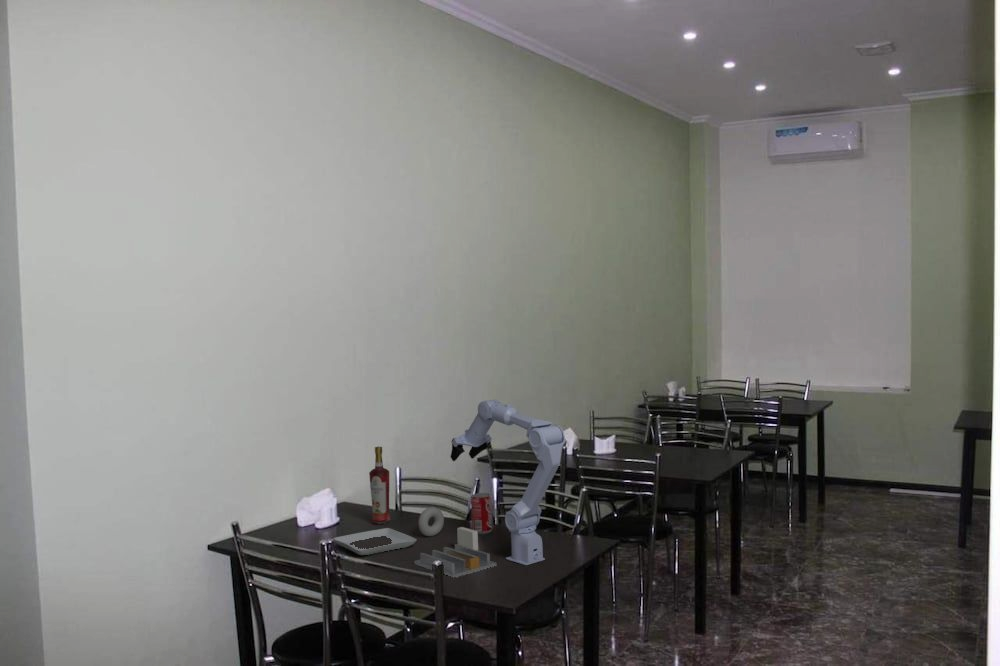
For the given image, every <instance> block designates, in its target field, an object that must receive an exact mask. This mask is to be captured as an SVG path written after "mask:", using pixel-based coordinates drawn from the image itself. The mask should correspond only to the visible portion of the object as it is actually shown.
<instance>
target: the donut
mask: <svg viewBox="0 0 1000 666" xmlns="http://www.w3.org/2000/svg"><path fill="white" fill-rule="evenodd" d="M431 518H433V523H432V525H429V521H430V519H431ZM444 521H445V517H444V513H443V512H442V511H441V509H439V507H438V508H437V507H436V506H429V507H426V508H425V509H424V510H423V511H422V512H421V513H420V515H419V518H418V521H417V522H418V523H417V524H418V529H419V531H420V533H421V534H422V535H424V536H425V537H426V536H427V537H434V536H436V535H438V534H439V533H440V532H441V530H442V529H443V527H444V524H445V522H444Z"/></svg>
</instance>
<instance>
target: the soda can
mask: <svg viewBox="0 0 1000 666" xmlns="http://www.w3.org/2000/svg"><path fill="white" fill-rule="evenodd" d="M492 507H493V506H492V498H491V496H490V493H486V492H479V493H473V494H472V495H471V498H470V510H471V511H470V512H471V530H475V531H477V532H478V535H485V534H486V535H487V534H490V533H491V532H492V531H493V510H492Z"/></svg>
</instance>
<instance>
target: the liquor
mask: <svg viewBox="0 0 1000 666" xmlns="http://www.w3.org/2000/svg"><path fill="white" fill-rule="evenodd" d="M374 454H375V462H374V464H375V465H374V468H373V469H371V470H370V471H369V473H368V474H369V483H370V485H369V486H370V487H369V488H370V495H371V507H372V519H371V521H372V522H373V521H375V522H386V521H389V520H390V521H391V517H390V470H388V469H387V468H385V467H384V463H383V446H375V447H374ZM390 521H389V522H390Z"/></svg>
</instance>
